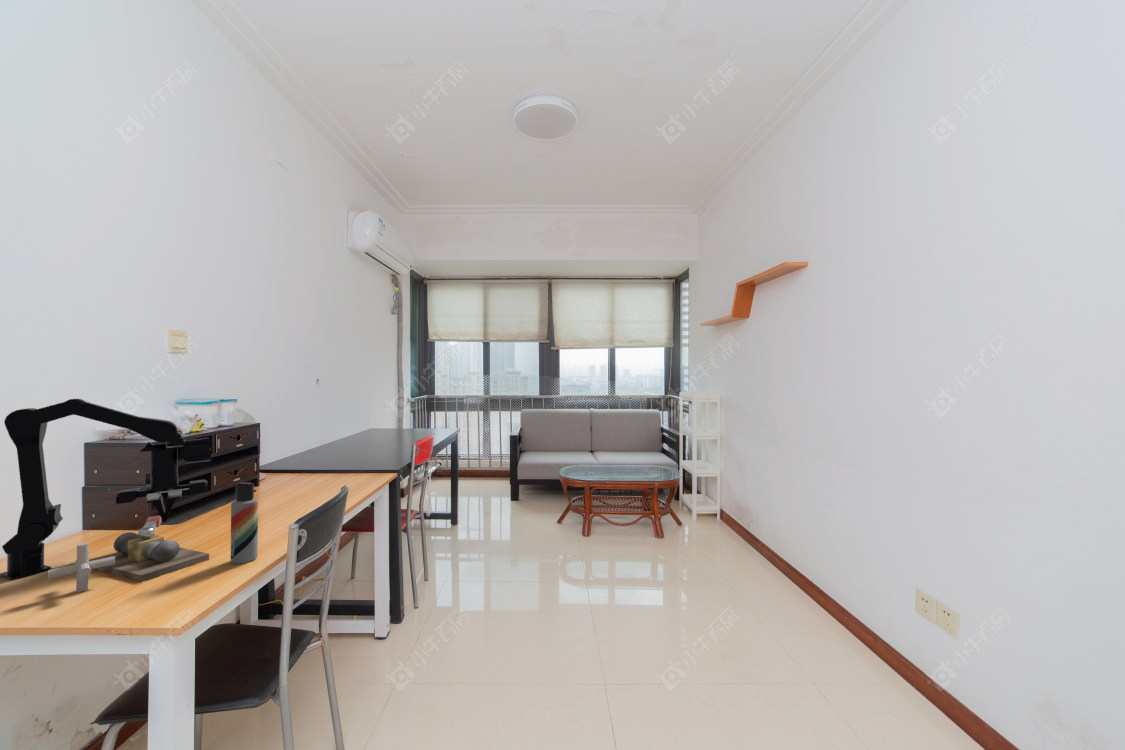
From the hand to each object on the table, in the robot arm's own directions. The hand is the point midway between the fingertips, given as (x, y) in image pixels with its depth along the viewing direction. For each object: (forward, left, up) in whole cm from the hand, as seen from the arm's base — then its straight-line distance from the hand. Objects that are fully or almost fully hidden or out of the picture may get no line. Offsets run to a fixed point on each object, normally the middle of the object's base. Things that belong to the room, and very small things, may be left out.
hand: (165, 521), depth 124 cm
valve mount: (+8, -8, -7) cm, 13 cm away
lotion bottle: (+30, +2, -7) cm, 31 cm away
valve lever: (+3, -5, 0) cm, 6 cm away
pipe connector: (+13, -22, -7) cm, 27 cm away
